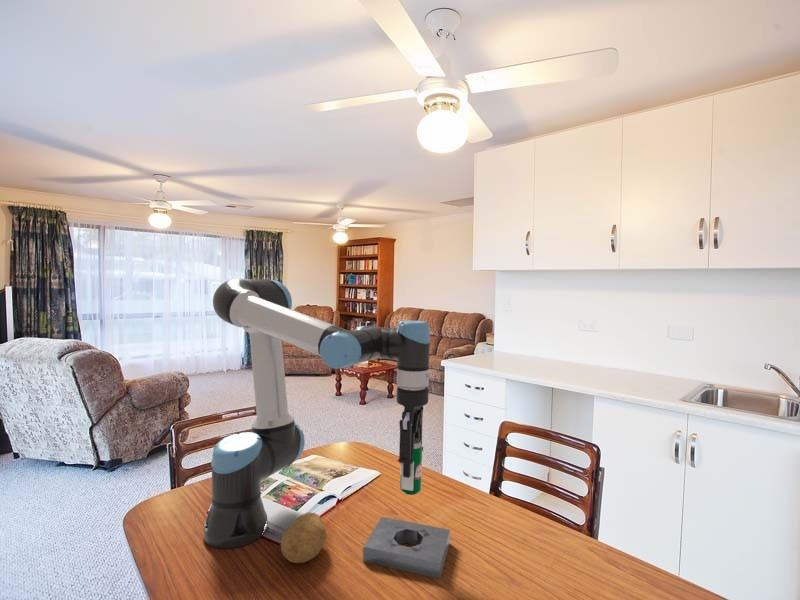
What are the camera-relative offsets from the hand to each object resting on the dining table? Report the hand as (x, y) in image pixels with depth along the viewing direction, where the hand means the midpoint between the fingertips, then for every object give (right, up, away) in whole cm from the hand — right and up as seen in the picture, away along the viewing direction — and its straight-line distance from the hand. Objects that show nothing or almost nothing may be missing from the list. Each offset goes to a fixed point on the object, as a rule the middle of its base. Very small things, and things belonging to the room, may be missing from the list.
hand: (410, 483), depth 98 cm
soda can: (0, -2, 0) cm, 2 cm away
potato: (-25, -16, -1) cm, 30 cm away
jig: (-1, -17, +1) cm, 17 cm away
